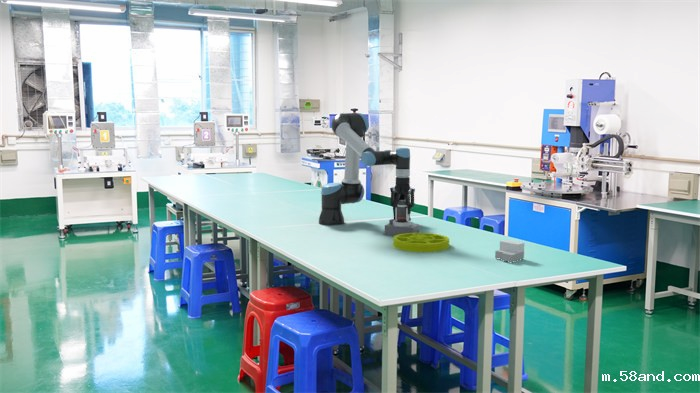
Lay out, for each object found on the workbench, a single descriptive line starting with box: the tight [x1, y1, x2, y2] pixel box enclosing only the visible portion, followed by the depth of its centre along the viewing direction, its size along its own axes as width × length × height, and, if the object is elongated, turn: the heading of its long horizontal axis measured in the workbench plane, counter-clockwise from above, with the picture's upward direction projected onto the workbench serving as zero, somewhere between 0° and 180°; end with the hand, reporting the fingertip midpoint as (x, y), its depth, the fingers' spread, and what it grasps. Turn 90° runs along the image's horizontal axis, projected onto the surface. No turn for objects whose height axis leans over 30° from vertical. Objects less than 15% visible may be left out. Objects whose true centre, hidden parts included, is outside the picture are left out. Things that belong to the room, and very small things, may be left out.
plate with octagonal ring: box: [384, 218, 420, 237], centre depth 341 cm, size 16×11×7 cm
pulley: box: [392, 232, 450, 253], centre depth 313 cm, size 28×28×5 cm
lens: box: [397, 200, 407, 223], centre depth 339 cm, size 5×5×12 cm
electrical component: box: [392, 189, 412, 222], centre depth 368 cm, size 18×10×20 cm, turn 168°
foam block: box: [494, 239, 525, 262], centre depth 285 cm, size 10×10×8 cm
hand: (402, 219), depth 340 cm, fingers closed on lens, 5 cm apart
